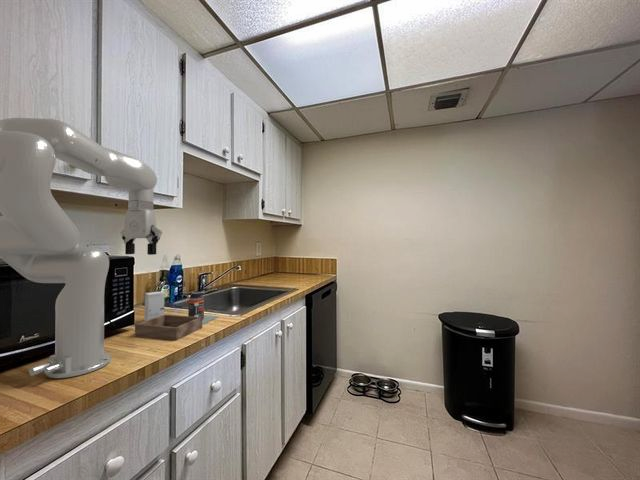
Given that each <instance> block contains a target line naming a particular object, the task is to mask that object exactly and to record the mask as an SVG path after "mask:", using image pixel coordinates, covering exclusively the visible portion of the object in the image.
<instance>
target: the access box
mask: <svg viewBox="0 0 640 480" xmlns="http://www.w3.org/2000/svg"><path fill="white" fill-rule="evenodd" d="M201 329H203V325H202V317H190V316H188V315H178V314H177V315H176V314H175V315H174V314H164V315H162V316H159V317H156V318H153V319H150V320H147V321H145V320H144V321H142V322H138V323H136V324H134V336H135V337H141V338H149V339H150V338H151V339H158V340H159V339H160V340H168V341H169V340H170V341H178V340H180V339H183V338H184V337H186V336H188V335H190V334H192V333H195V332H197V331H199V330H201Z"/></svg>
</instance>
